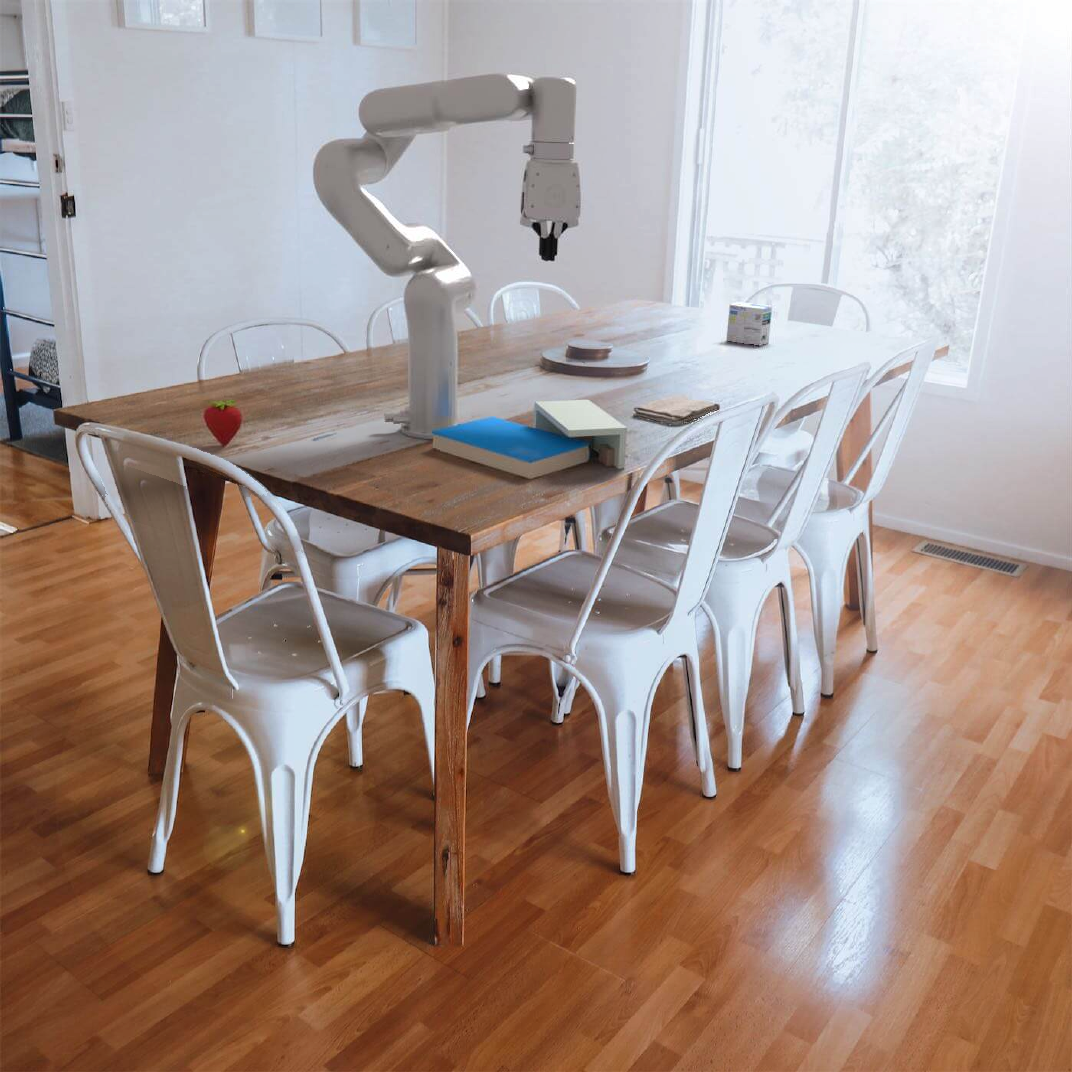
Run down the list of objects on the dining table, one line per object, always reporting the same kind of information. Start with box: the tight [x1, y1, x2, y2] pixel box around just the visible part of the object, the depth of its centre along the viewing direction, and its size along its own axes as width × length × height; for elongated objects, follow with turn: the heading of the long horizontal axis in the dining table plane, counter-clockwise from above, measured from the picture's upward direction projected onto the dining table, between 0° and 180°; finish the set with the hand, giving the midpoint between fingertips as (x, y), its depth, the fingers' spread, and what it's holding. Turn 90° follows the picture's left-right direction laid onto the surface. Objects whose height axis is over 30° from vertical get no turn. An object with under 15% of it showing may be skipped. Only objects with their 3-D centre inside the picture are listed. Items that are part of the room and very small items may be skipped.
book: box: [432, 416, 591, 480], centre depth 210 cm, size 17×4×25 cm
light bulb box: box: [726, 301, 773, 347], centre depth 323 cm, size 11×7×11 cm, turn 58°
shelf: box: [533, 399, 628, 470], centre depth 212 cm, size 11×21×8 cm, turn 17°
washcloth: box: [632, 395, 721, 426], centre depth 244 cm, size 12×18×3 cm, turn 142°
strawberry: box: [203, 391, 243, 446], centre depth 208 cm, size 6×8×10 cm
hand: (547, 259), depth 204 cm, fingers closed
